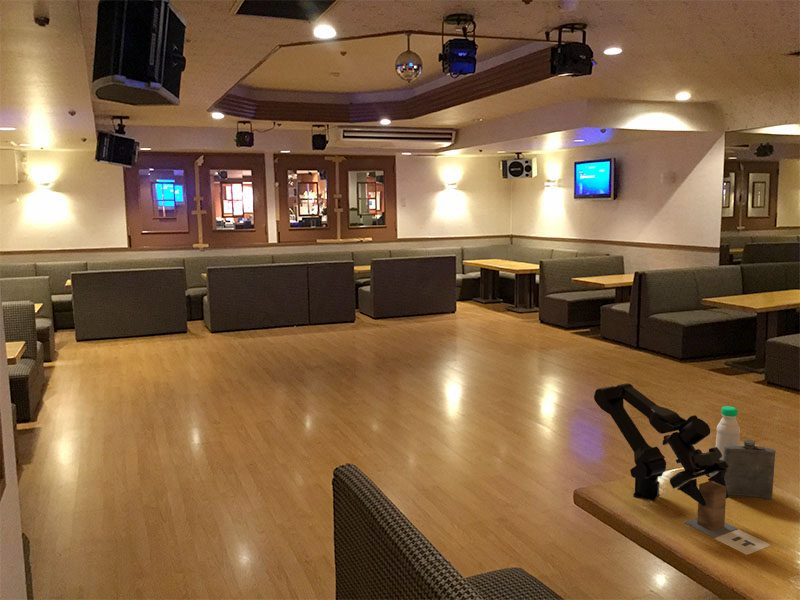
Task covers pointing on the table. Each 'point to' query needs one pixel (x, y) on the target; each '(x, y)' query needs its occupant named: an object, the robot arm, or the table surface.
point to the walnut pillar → (712, 505)
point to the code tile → (742, 541)
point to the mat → (714, 534)
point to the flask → (749, 470)
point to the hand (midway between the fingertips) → (716, 501)
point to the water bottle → (727, 430)
